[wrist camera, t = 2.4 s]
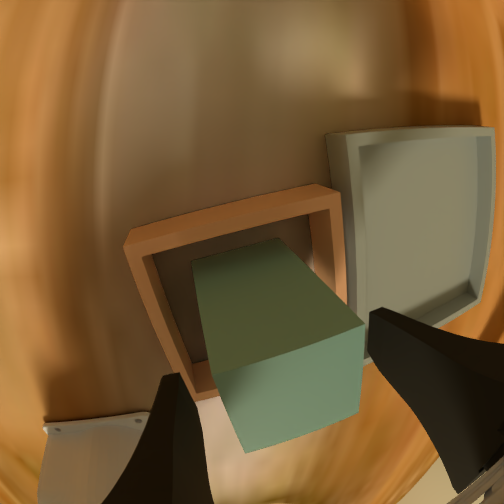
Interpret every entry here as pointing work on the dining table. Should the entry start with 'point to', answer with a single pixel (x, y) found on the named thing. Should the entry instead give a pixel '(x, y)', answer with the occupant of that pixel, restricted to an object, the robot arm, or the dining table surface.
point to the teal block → (277, 343)
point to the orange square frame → (220, 223)
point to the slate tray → (415, 218)
